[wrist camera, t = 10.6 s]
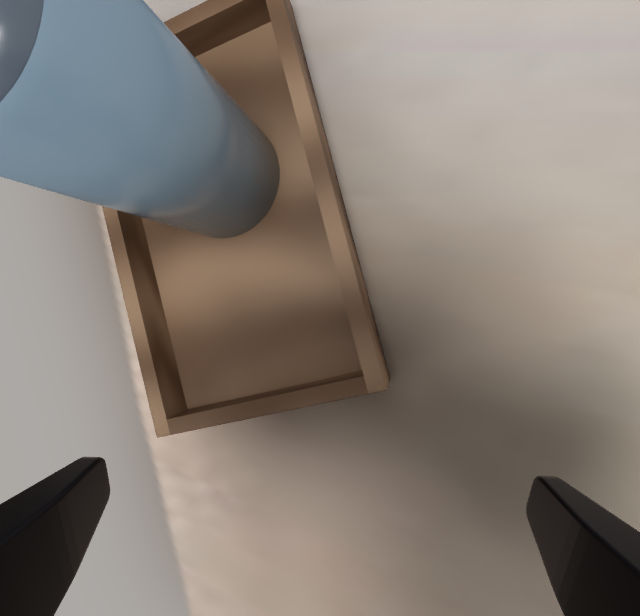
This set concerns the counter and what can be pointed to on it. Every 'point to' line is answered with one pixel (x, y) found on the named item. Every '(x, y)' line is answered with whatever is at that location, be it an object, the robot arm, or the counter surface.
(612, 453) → the counter surface
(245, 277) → the tray
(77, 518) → the robot arm
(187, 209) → the cup
